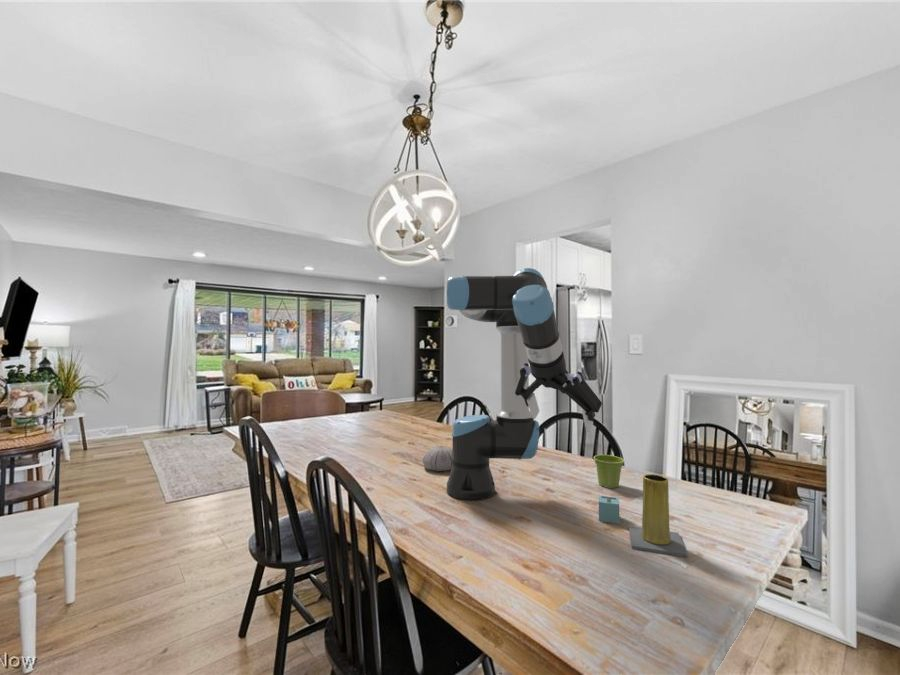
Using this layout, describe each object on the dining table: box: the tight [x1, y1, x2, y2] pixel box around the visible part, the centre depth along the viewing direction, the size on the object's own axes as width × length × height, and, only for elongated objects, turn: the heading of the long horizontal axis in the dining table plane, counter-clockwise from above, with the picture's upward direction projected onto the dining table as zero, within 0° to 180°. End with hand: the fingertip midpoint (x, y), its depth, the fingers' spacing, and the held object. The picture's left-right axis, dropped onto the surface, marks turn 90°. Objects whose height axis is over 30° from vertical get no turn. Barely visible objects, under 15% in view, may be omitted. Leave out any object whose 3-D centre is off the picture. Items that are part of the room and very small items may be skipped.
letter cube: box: [598, 495, 620, 525], centre depth 108 cm, size 5×5×5 cm
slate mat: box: [628, 525, 688, 558], centre depth 95 cm, size 11×11×1 cm
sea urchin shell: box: [422, 445, 452, 472], centre depth 153 cm, size 13×14×8 cm
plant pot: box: [593, 454, 625, 489], centre depth 134 cm, size 9×9×9 cm
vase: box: [641, 473, 671, 545], centre depth 95 cm, size 6×6×14 cm
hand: (561, 420), depth 99 cm, fingers open, 13 cm apart
